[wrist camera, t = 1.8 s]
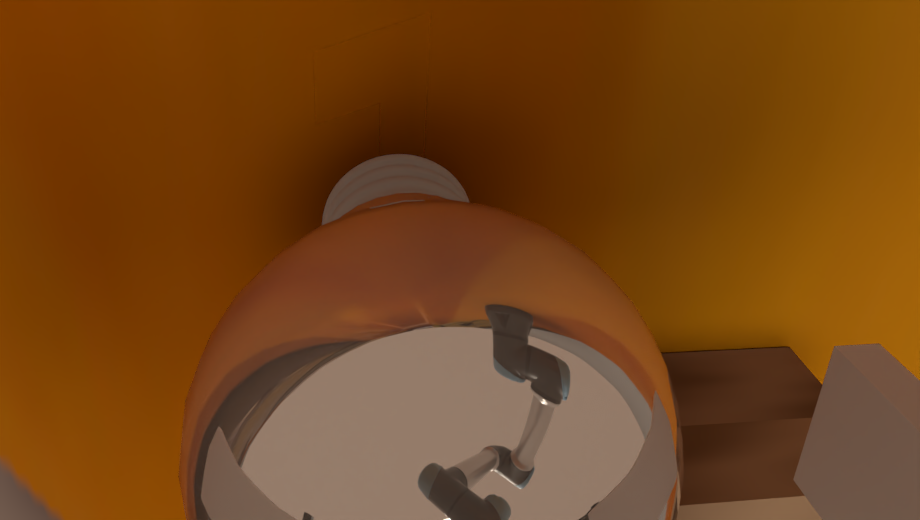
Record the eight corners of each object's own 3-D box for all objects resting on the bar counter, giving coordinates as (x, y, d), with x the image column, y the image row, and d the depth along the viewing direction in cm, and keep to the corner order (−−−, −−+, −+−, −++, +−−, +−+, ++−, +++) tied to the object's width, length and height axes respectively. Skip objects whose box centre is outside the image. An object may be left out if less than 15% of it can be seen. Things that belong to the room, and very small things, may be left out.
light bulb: (541, 305, 21) (750, 790, 10) (272, 342, 20) (208, 894, 10) (536, 37, 17) (837, 358, 7) (212, 71, 17) (16, 478, 6)
